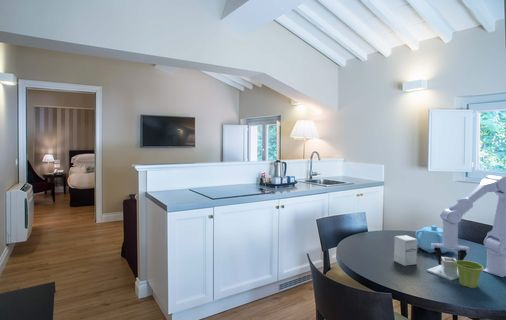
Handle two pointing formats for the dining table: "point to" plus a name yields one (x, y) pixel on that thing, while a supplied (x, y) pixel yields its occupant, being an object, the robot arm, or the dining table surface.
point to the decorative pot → (429, 238)
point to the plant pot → (469, 273)
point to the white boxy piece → (448, 265)
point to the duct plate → (443, 273)
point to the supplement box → (405, 250)
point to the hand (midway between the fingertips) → (449, 265)
